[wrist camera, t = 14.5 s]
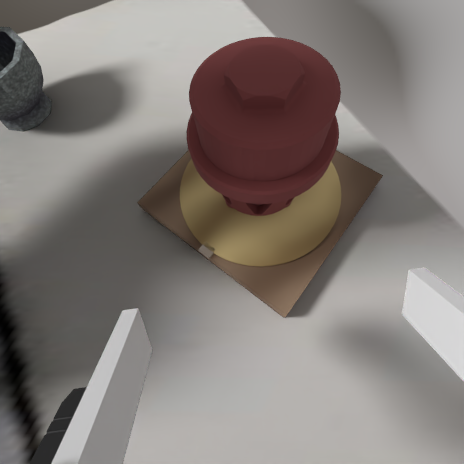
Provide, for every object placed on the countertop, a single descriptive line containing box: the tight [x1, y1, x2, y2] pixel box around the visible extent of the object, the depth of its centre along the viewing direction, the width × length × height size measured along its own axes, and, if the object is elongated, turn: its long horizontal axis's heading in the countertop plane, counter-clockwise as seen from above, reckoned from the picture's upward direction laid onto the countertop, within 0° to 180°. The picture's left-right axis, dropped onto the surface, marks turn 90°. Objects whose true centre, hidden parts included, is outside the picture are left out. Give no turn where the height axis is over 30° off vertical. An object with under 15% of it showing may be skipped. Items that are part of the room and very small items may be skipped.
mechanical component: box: [187, 37, 341, 216], centre depth 20 cm, size 12×10×10 cm
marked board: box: [138, 150, 383, 317], centre depth 26 cm, size 17×16×2 cm
